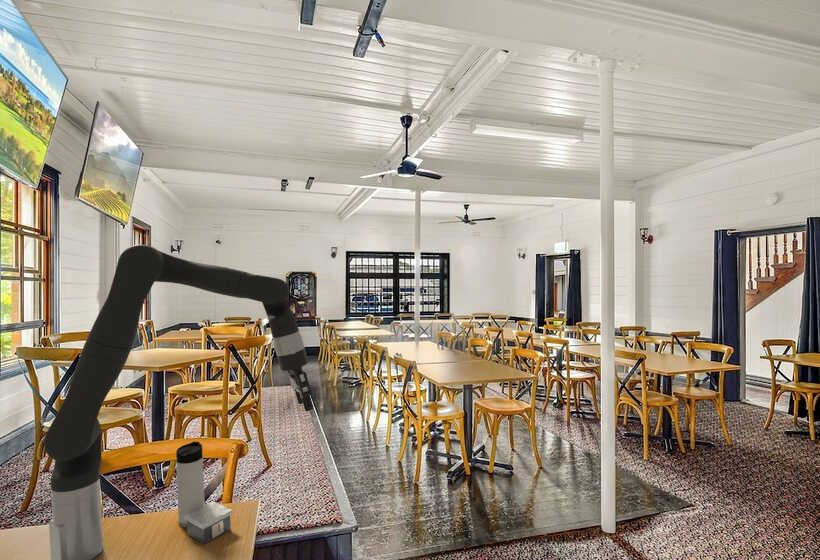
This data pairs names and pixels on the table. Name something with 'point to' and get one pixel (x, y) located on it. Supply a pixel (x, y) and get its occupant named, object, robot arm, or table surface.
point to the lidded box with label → (208, 522)
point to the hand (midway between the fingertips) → (305, 406)
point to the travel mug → (189, 480)
